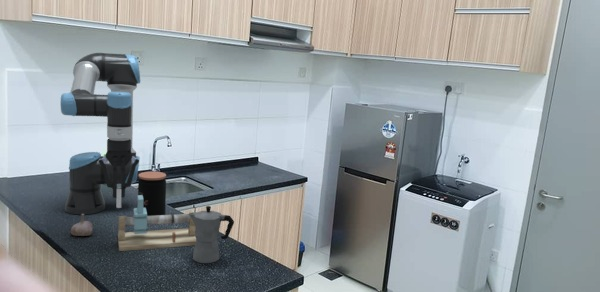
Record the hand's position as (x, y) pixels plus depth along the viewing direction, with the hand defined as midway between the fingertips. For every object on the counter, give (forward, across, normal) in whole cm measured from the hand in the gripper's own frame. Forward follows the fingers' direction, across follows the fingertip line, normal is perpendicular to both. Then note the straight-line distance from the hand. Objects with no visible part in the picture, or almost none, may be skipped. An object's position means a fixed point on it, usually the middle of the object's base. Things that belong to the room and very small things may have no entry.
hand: (118, 206), depth 160 cm
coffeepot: (+14, +28, -18) cm, 36 cm away
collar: (+9, +7, 0) cm, 11 cm away
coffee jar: (+14, +13, +25) cm, 32 cm away
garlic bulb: (+14, -12, +11) cm, 22 cm away
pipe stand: (+14, +13, 0) cm, 19 cm away
